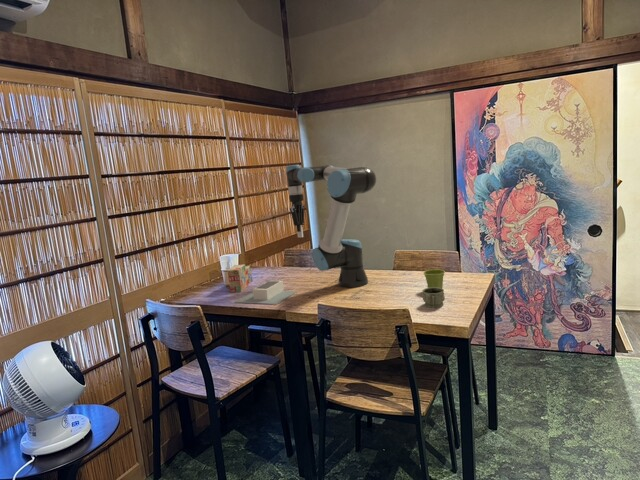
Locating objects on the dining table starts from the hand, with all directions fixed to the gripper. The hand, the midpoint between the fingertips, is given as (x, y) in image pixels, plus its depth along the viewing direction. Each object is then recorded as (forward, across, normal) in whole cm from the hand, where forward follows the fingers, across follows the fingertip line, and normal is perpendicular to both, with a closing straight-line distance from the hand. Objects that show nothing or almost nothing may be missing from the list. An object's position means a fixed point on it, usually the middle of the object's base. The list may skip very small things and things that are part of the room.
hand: (300, 237), depth 235 cm
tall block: (+22, +20, -6) cm, 30 cm away
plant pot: (+25, +12, +73) cm, 78 cm away
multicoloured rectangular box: (+25, +15, -32) cm, 43 cm away
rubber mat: (+24, +32, -6) cm, 40 cm away
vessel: (+25, +32, +76) cm, 86 cm away
